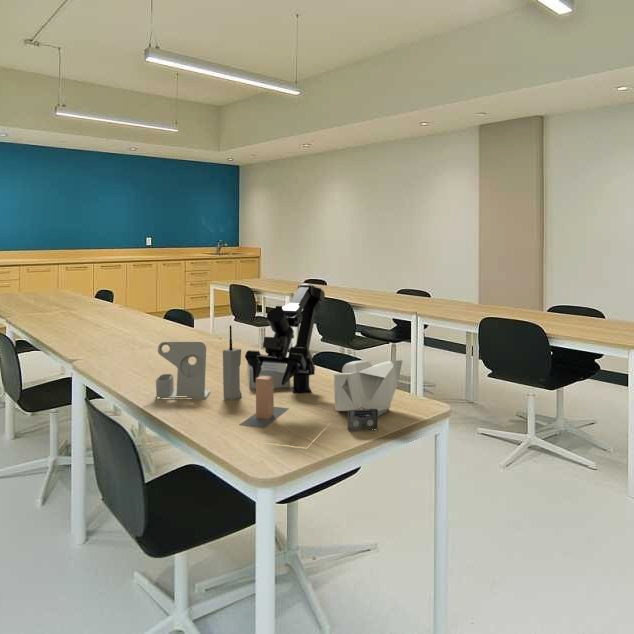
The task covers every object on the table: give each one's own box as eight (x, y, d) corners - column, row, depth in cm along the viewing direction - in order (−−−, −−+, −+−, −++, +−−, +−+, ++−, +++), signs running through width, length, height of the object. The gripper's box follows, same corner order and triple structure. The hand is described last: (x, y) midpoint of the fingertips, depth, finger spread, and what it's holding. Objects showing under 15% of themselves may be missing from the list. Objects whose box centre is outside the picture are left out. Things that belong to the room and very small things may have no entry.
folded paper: (329, 358, 174) (368, 373, 161) (384, 350, 189) (424, 362, 176) (326, 411, 177) (363, 429, 164) (380, 398, 192) (419, 414, 179)
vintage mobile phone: (241, 397, 192) (241, 324, 189) (231, 401, 188) (230, 326, 185) (233, 396, 194) (232, 323, 191) (223, 399, 190) (222, 325, 187)
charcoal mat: (265, 407, 182) (265, 405, 182) (289, 409, 179) (289, 408, 179) (238, 426, 163) (238, 425, 163) (264, 429, 160) (264, 427, 160)
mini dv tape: (376, 428, 162) (376, 408, 161) (377, 430, 160) (377, 409, 160) (347, 429, 161) (348, 409, 160) (348, 431, 159) (349, 410, 158)
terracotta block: (261, 413, 173) (261, 375, 172) (273, 415, 172) (273, 376, 170) (256, 417, 170) (255, 378, 168) (268, 419, 168) (268, 379, 167)
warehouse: (289, 388, 206) (289, 368, 205) (249, 390, 204) (249, 369, 203) (282, 370, 235) (282, 352, 234) (247, 371, 233) (247, 352, 232)
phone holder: (153, 399, 190) (152, 346, 187) (161, 391, 200) (159, 341, 197) (206, 399, 190) (205, 346, 188) (210, 391, 200) (209, 341, 198)
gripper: (247, 324, 178) (231, 366, 169) (303, 328, 172) (290, 371, 163) (257, 345, 186) (243, 386, 177) (311, 349, 181) (299, 391, 172)
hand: (268, 383), depth 172 cm, fingers open, 9 cm apart
